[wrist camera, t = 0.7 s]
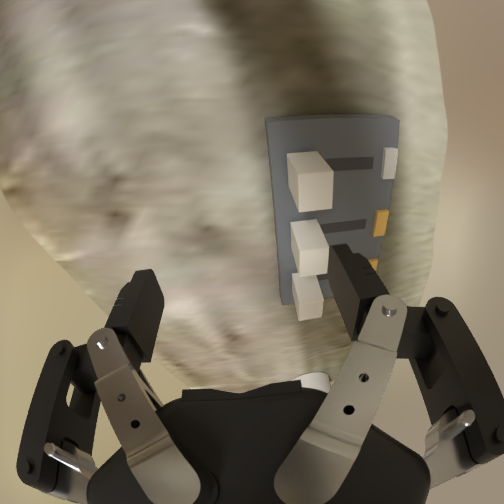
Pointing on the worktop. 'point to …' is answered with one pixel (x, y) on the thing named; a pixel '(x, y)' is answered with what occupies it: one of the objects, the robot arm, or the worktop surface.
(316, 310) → the slider
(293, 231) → the slider middle
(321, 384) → the toilet tissue
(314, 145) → the switch board
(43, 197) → the worktop surface
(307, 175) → the slider
